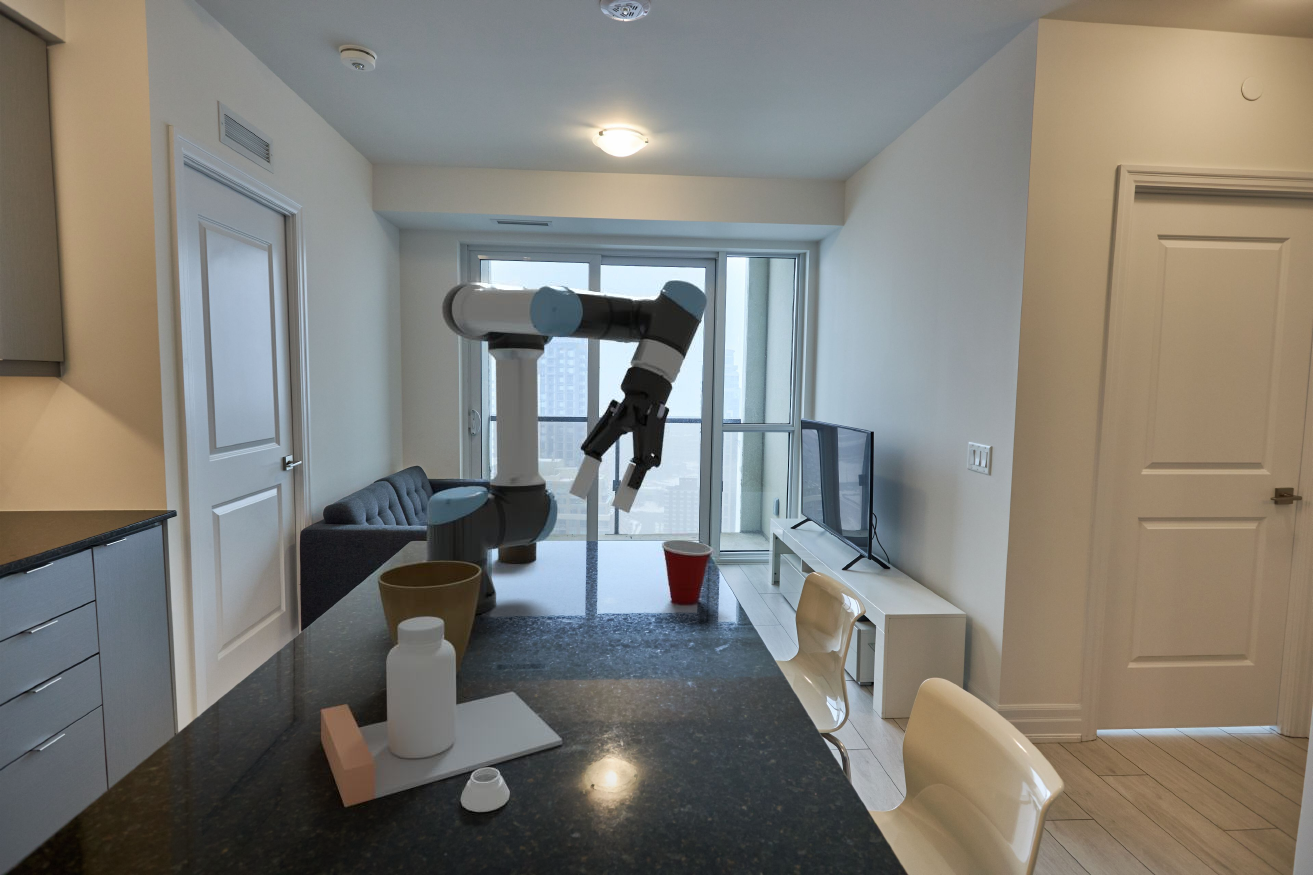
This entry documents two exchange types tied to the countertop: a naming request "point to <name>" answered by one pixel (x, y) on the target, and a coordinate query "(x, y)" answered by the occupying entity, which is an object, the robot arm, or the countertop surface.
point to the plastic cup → (685, 569)
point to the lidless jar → (485, 791)
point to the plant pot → (433, 598)
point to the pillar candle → (518, 553)
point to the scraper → (480, 741)
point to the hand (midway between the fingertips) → (597, 502)
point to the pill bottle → (421, 690)
